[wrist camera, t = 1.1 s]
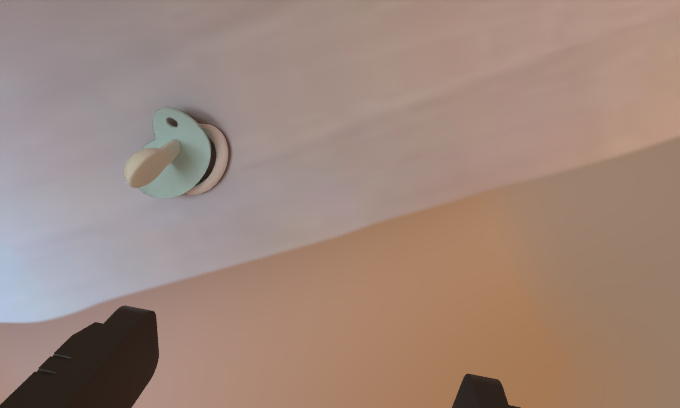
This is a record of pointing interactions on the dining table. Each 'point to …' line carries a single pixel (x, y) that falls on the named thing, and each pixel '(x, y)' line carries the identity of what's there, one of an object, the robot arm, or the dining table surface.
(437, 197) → the dining table surface
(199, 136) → the pacifier
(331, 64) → the dining table surface
